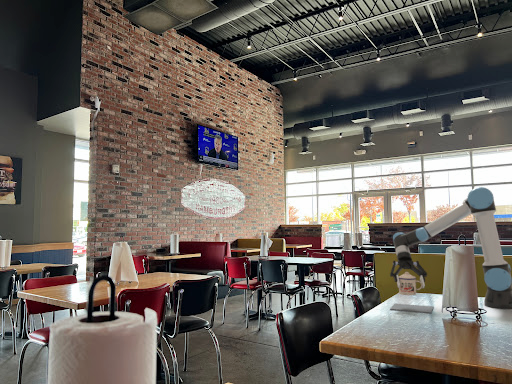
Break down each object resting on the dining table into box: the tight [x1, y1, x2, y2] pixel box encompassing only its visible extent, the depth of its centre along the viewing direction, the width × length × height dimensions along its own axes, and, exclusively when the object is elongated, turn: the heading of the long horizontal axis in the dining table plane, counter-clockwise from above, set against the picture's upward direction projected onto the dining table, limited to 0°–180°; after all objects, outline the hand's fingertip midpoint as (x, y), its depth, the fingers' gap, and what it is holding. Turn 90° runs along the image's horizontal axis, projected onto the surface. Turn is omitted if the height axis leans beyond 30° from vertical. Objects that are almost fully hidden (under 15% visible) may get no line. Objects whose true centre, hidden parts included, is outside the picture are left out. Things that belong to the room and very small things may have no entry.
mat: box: [389, 302, 434, 314], centre depth 206 cm, size 20×16×1 cm
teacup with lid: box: [398, 271, 423, 296], centre depth 207 cm, size 12×9×12 cm
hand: (411, 286), depth 205 cm, fingers closed on teacup with lid, 12 cm apart
